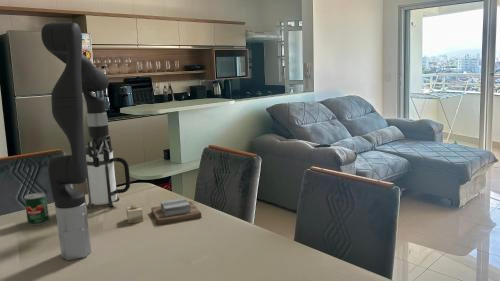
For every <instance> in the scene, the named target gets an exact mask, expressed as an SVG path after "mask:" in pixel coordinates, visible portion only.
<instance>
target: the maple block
mask: <svg viewBox="0 0 500 281" xmlns="http://www.w3.org/2000/svg"><path fill="white" fill-rule="evenodd" d="M143 214H144V213H143V208H142V206H141V205H140V204H139V205H131V206H126V218H127V222H128V224H134V223H140V222H144V216H143Z"/></svg>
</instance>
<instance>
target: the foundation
mask: <svg viewBox="0 0 500 281" xmlns="http://www.w3.org/2000/svg"><path fill="white" fill-rule="evenodd" d="M151 213H152V215H153V217H154V220H155V221H156V223H157V225H158V226H161V225H166V224H171V223H172V224H173V223H179V222H185V221H189V220H195V219H201V218H202V212H201V211H200V210H199V208H198V207H197V206H196V205H195V204H194V202H192V200H191V201H187V199H186V198H185V197H181V198H175V199H170V200H169V199H167V200H162V201H160V205H159V206H152V207H151Z"/></svg>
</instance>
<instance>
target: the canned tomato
mask: <svg viewBox="0 0 500 281" xmlns="http://www.w3.org/2000/svg"><path fill="white" fill-rule="evenodd" d="M23 199H24V204H25V213H26V219H27V224H28V225H30V226H38V225H42V224H47V223H48V222H49V221H50V214H49V209H48V208H49V207H48V200H47V194H46V193H45V192H34V193H29V194H26V195H24V198H23Z"/></svg>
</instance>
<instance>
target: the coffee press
mask: <svg viewBox="0 0 500 281" xmlns="http://www.w3.org/2000/svg"><path fill="white" fill-rule="evenodd" d="M108 146H109V145H108ZM111 147H112V145H111ZM85 150H86V158H87V177H86V180H85V181H86V187H87V195H88V196H87V198H88V203H87V204H86V209H87V208H88V209H89V210H91V209H92V208H93V206H103V205H108V207H109V208H114V203H113V202H115V201H117V202H118V201H119V200H120V198H119V197H118V194H124V193H126V192H128V191H129V189H130V187H131V175H130V167H129V163H128V162H127V160H126V159H125V158H122V157H114V147H112V150H110V153H109V158H110V162H104V157H103V151H102V150H101V152H100V153H99V164H100V166H99V167H94V165H93V158H92V157H89V150H88V145H85ZM91 154H92V151H91ZM96 154H97V153H96ZM115 162H118V163H121V164H122V165H123V168H124V178H125V186H124V188H117V182H116V172H115Z"/></svg>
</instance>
